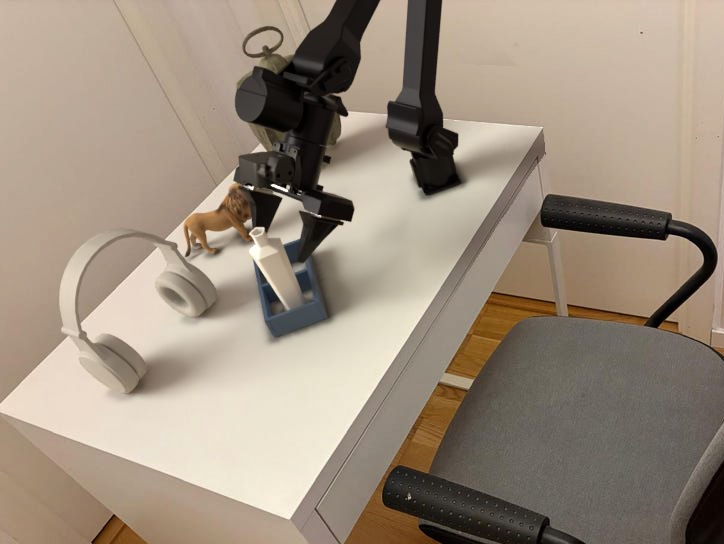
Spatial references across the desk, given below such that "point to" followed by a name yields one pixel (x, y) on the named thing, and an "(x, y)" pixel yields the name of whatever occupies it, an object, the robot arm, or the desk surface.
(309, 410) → the desk surface
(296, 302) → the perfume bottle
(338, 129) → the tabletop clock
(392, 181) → the desk surface
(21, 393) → the desk surface
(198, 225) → the lion figurine
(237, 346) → the desk surface
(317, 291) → the box
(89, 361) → the headphones
